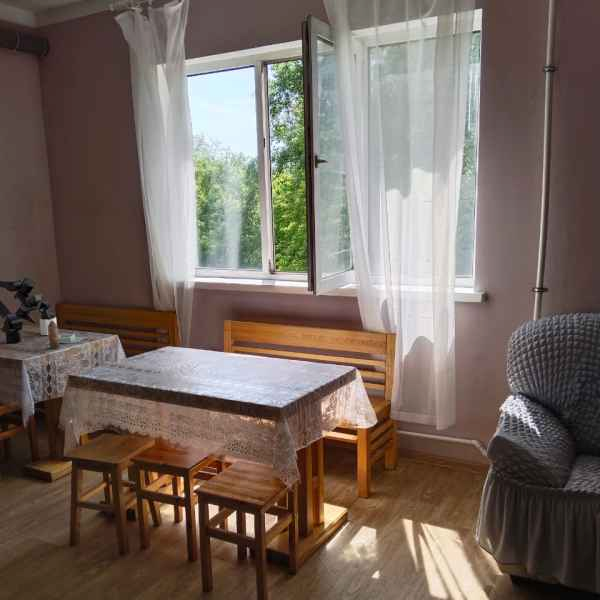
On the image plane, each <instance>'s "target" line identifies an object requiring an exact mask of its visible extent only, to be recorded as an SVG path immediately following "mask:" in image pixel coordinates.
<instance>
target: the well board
mask: <svg viewBox="0 0 600 600" xmlns="http://www.w3.org/2000/svg"><path fill="white" fill-rule="evenodd" d="M58 337H59V343H70V344H79V343H78V342H80V341H81V340H82V339H83V340H85V339H86V336H76V334H75V333H71V334H69V333H67V334H66V333H65V334H63V333H62V334H58ZM83 340H82V341H83ZM82 341H81V342H82ZM81 342H80V343H81ZM44 345H50V343H49V340H48V341H46V342H44Z"/></svg>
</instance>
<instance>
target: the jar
mask: <svg viewBox="0 0 600 600" xmlns="http://www.w3.org/2000/svg"><path fill="white" fill-rule="evenodd" d="M48 312H49V316H50V320H48V319H46V318H45V317H44V316H43V315H42V314H41V313H39V327H40V336H42V335H49V333H48V326H49V325H48V324H50V322H51V321H54V322H55V323H56V325H57V326H58V324H57V322H58V321H57V317H56V313H55V312H51V311H48Z"/></svg>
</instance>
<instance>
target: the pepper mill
mask: <svg viewBox="0 0 600 600" xmlns="http://www.w3.org/2000/svg"><path fill="white" fill-rule="evenodd" d="M48 325H49V326H48V333H49V336H48V341H49V343H50V344H49V349H50V350H57V348H58V349H60V344H59V337H58V335H59V329H58V328H59V327H58V324H57V325H56V323H55V322H54V321H51V322H50V324H48Z"/></svg>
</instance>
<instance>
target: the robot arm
mask: <svg viewBox="0 0 600 600" xmlns="http://www.w3.org/2000/svg"><path fill="white" fill-rule="evenodd" d="M36 285H37V282H36V281H35V280H33V279H32V278H29V277H23V280H21V279H13V280H10V279H9V280H8V279H4V278H0V288H3V289H6V291H8V292H10V293H14V294H13V295H14V296H13V299H14V300H16V299H18V300H19V302H20V303H21V304H20V307H18V308H17V310H16V311H15V312H13V313H12V312H11V311H10V309H9V308H8V307H7V306H6V305H5V304H4V302H3V301H2V300H1V299H0V316H1V318H2V319H3V321H2V322H3V326H2V327H1V331H2V333H5V340H6V341H5V343H8V344H18V343H20V342H22V335H21V334H22V333H20V331H22V330H23V324H24V322H23V320H24V321H27V322H30V323H31V324H34V325H35V324H36V323H37V322H36V321H35V319H34V317H33V316H32V315H31V313H33V312H35V311H38V312H40V314H42V315H43V316H44V317H45V318H46V319H48V320H50V316H49V312H50V311H49V309H50V307H51V305H52V304H51V303H50V301H44V302H42V301H43V300H44V298H45V296H44V294H43V293H41V292H40V293H38V294H35V295H32V296H31V295H30V294H32V292H33V291H34V289H35V287H36ZM40 302H41V303H40ZM30 312H31V313H30Z"/></svg>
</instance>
